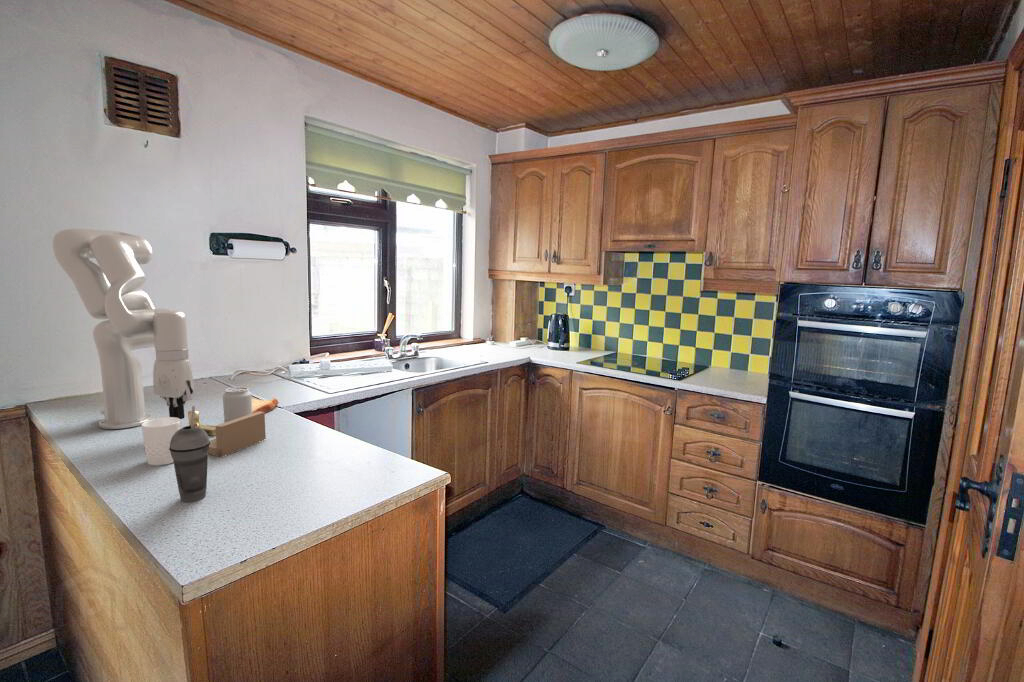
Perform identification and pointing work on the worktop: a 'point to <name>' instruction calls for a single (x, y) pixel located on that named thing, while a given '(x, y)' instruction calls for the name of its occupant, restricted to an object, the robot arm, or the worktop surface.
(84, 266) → the robot arm
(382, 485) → the worktop surface
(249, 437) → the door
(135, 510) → the worktop surface
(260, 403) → the slice of bread
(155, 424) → the white cup
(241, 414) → the can
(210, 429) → the bolt
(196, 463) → the beverage cup
